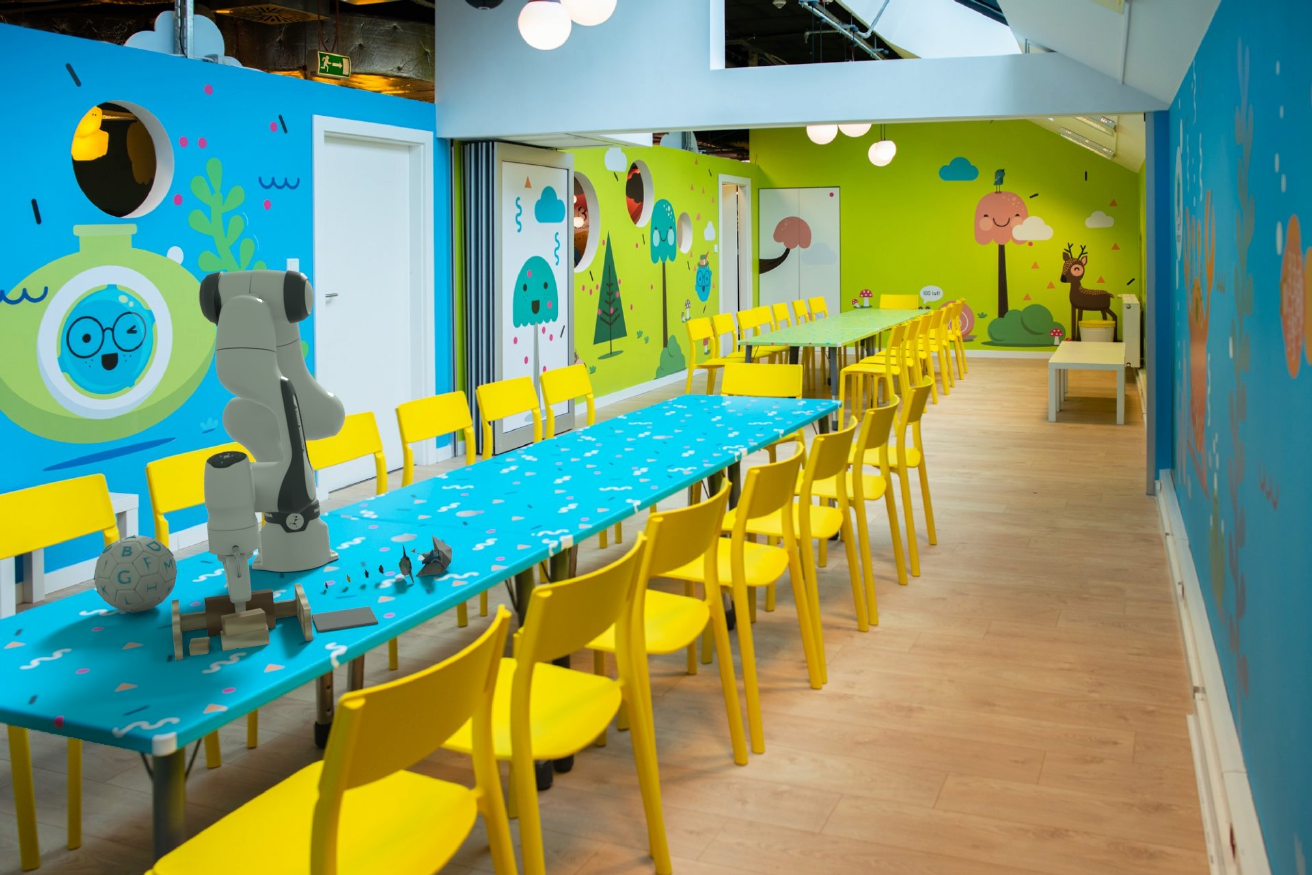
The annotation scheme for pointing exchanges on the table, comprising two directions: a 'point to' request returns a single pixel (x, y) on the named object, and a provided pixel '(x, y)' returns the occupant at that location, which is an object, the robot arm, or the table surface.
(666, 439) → the table surface
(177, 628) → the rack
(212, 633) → the walnut board
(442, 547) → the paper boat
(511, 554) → the table surface
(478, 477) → the table surface
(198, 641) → the offcut
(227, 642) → the offcut
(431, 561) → the toy fish set
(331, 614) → the mat
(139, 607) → the puzzle ball
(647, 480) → the table surface
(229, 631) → the offcut
